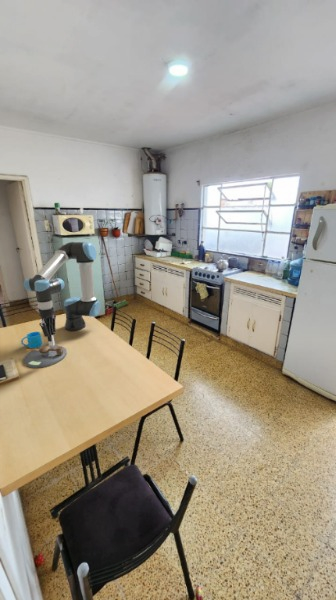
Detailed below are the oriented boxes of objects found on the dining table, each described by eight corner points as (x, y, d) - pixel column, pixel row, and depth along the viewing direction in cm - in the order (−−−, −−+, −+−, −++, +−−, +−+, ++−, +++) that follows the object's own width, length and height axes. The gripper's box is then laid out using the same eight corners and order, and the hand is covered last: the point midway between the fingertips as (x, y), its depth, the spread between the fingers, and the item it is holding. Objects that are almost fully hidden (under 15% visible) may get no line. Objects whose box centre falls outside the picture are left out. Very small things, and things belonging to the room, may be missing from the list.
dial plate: (56, 343, 171) (56, 337, 170) (73, 356, 155) (72, 350, 154) (18, 356, 155) (16, 351, 154) (32, 373, 139) (30, 367, 138)
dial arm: (64, 351, 158) (63, 345, 156) (60, 356, 152) (59, 350, 151) (29, 351, 157) (28, 345, 156) (24, 356, 152) (23, 350, 150)
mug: (42, 341, 174) (40, 330, 171) (42, 346, 167) (40, 335, 164) (22, 345, 169) (20, 334, 166) (21, 350, 162) (19, 339, 159)
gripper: (46, 303, 146) (52, 339, 154) (32, 311, 134) (39, 350, 142) (58, 304, 146) (63, 340, 153) (45, 312, 133) (51, 351, 141)
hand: (52, 345), depth 147 cm, fingers closed
